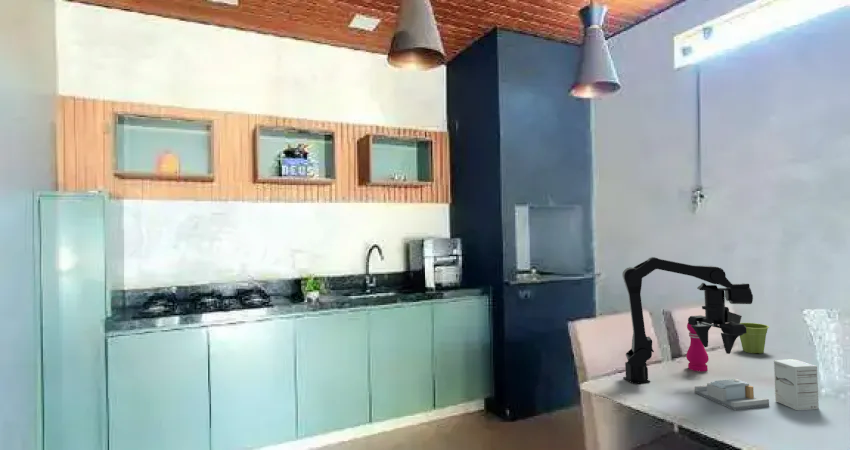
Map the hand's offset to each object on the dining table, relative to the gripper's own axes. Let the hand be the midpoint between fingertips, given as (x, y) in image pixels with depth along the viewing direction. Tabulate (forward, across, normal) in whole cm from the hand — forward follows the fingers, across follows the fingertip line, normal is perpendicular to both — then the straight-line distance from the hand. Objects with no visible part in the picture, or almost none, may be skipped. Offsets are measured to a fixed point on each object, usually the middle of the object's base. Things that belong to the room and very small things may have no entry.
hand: (716, 350), depth 153 cm
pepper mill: (+12, +18, -8) cm, 23 cm away
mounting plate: (+12, -11, +6) cm, 17 cm away
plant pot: (+12, +33, -48) cm, 60 cm away
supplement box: (+12, -20, -8) cm, 25 cm away
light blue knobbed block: (+11, -11, +6) cm, 17 cm away
